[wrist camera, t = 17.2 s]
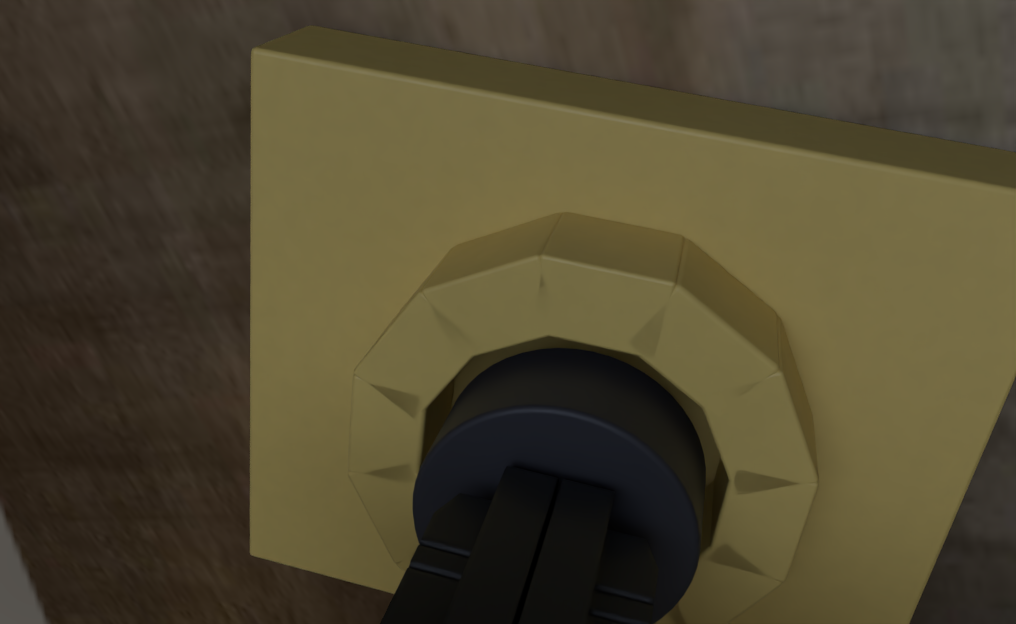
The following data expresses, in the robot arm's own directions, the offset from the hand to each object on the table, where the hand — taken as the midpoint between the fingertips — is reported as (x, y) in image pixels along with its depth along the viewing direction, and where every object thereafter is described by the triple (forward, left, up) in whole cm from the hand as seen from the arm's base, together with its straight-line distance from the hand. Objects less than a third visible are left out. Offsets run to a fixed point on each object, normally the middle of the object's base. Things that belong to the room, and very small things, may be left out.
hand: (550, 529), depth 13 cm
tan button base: (0, 0, -5) cm, 5 cm away
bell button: (0, 0, -2) cm, 2 cm away
